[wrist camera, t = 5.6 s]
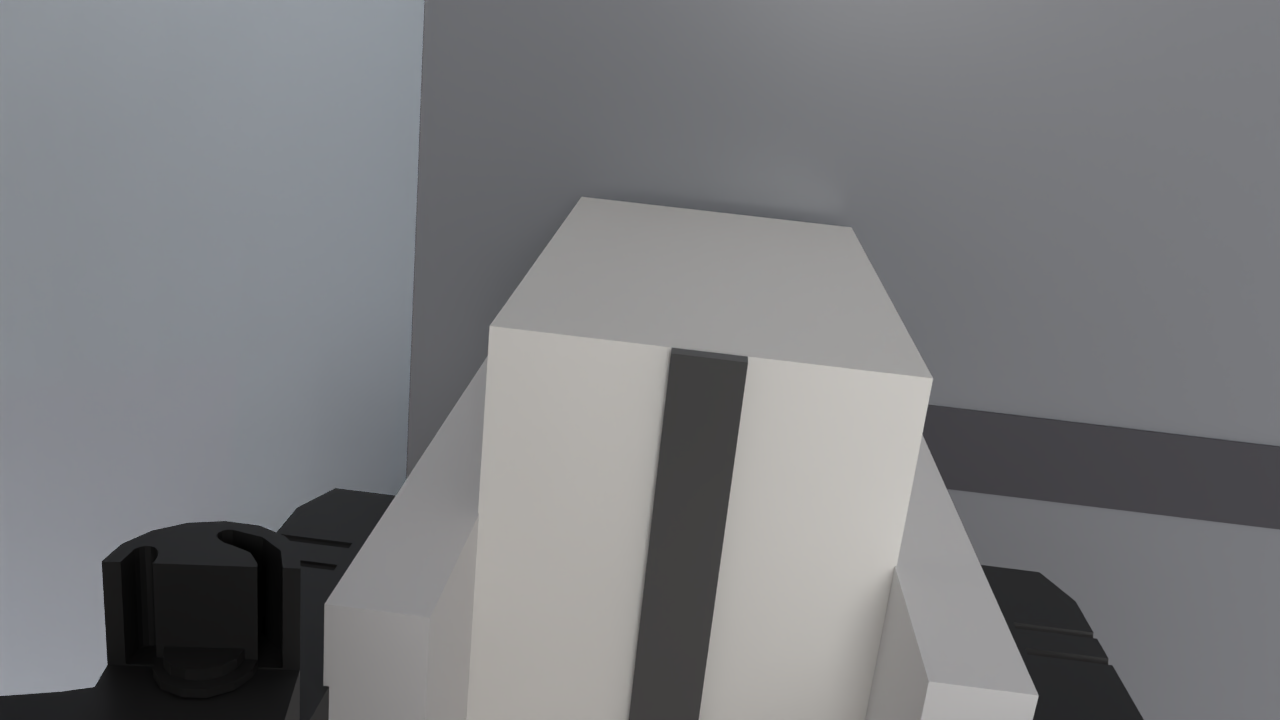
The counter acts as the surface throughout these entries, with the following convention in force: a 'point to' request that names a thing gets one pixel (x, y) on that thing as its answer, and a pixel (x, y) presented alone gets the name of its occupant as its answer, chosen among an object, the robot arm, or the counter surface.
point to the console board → (943, 256)
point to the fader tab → (691, 472)
